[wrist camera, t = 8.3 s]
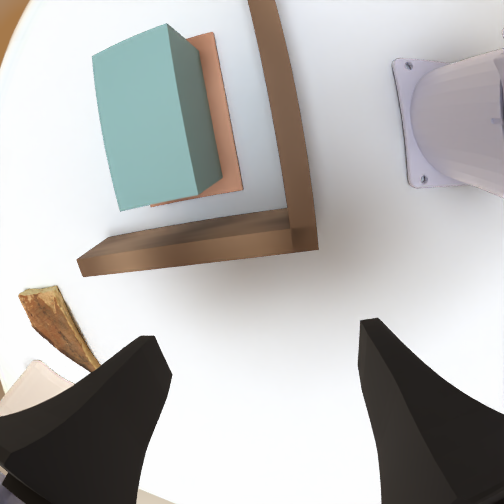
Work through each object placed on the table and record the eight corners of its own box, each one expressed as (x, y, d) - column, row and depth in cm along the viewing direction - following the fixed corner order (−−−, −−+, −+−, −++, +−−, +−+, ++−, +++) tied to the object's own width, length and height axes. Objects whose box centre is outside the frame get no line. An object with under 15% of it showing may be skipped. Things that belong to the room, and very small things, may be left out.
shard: (108, 371, 26) (101, 382, 24) (64, 365, 27) (57, 374, 26) (62, 282, 22) (51, 291, 20) (22, 287, 23) (12, 295, 22)
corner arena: (265, -15, 11) (260, -48, 8) (311, 224, 17) (318, 249, 13) (74, 53, 14) (37, 45, 10) (113, 252, 19) (83, 277, 16)
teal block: (223, 177, 16) (198, 195, 12) (161, 190, 17) (120, 211, 12) (198, 50, 13) (166, 23, 9) (138, 71, 14) (92, 56, 9)
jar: (95, 396, 28) (42, 488, 14) (95, 425, 32) (56, 500, 18) (26, 349, 27) (-35, 422, 13) (35, 386, 31) (-11, 449, 17)
